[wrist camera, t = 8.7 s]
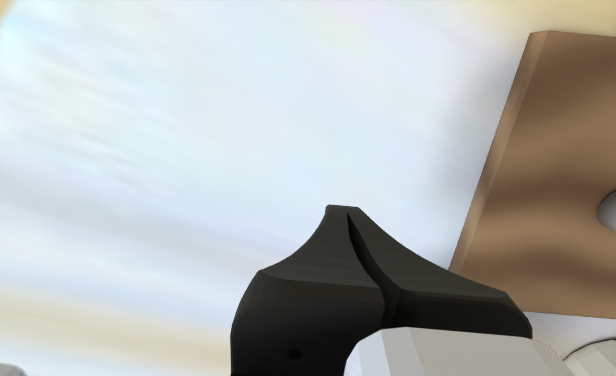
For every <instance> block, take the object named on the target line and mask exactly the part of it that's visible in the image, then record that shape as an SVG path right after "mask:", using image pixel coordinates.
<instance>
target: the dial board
mask: <svg viewBox="0 0 616 376" xmlns="http://www.w3.org/2000/svg"><path fill="white" fill-rule="evenodd" d="M615 191H616V37H609V36H599V35H589V34H578V33H568V32H558V31H542V32H536V33H530V35H529V38H528V41H527V44H526V47H525V50H524V52H523V55H522V58H521V61H520V64H519V67H518V70H517V73H516V76H515V79H514V81H513V84H512V87H511V90H510V93H509V96H508V99H507V102H506V105H505V108H504V110H503V113H502V116H501V119H500V122H499V125H498V128H497V131H496V134H495V136H494V139H493V142H492V145H491V148H490V151H489V154H488V157H487V160H486V163H485V165H484V168H483V171H482V174H481V177H480V180H479V183H478V186H477V189H476V192H475V194H474V197H473V200H472V203H471V206H470V209H469V212H468V215H467V218H466V221H465V223H464V226H463V229H462V232H461V235H460V238H459V241H458V244H457V247H456V249H455V252H454V255H453V258H452V261H451V264H450V267H449V270H448V271H450V272H452V273H455V274H457V275H460V276H462V277H464V278H467V279H469V280H472V281H475V282H478V283H481V284H484V285H487V286H489V287H492V288H495V289H498V290H501V291H504V292H506V293H507V294H508V295H509V297H510V298H511V299H512V300H513V301H514V303H515V304H516V305H517V306H518V307H519V309H520V310H521V311H527V312H538V313H550V314H561V315H573V316H584V317H595V318H607V319H616V232H615V231H613V230H611V229H609V228H607V227H606V226H604V225H602V224H601V223H600V222H599V221H598V219H597V210H598V207H599V205H600V204H601V203H602V201H603V200H604V199H605V198H606V197H607V196H609V195H610V194H612V193H613V192H615Z"/></svg>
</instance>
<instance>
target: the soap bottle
mask: <svg viewBox="0 0 616 376" xmlns="http://www.w3.org/2000/svg"><path fill="white" fill-rule="evenodd" d="M563 362H564V363H565V364H566V365H567V367H568V368H569V369H570V370H571V371H572V373H573V374H574V375H575V376H616V340H608V341H604V342H600V343H595V344H591V345H588V346H586V347H584V348H582V349H580V350H578V351H576V352H574V353H572V354H571V355H570V356H569V357H568V358H566V359H565V360H564V361H563Z"/></svg>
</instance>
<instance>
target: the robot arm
mask: <svg viewBox="0 0 616 376" xmlns="http://www.w3.org/2000/svg"><path fill="white" fill-rule="evenodd" d="M532 339H533V338H532V327H531V324H530V322H529V320H528V318H527V317H526V316H525V315H524V313H523V312H522V311H521V310H520V309H519V307H518V306H517V305H516V304H515V303H514V301H513V300H512V299H511V298H510V297H509V295H508V294H507V293H506V292H504V291H501V290H498V289H495V288H492V287H489V286H487V285H484V284H481V283H478V282H475V281H472V280H469V279H467V278H464V277H462V276H460V275H457V274H455V273H452V272H450V271H448V270H446V269H444V268H441V267H439V266H437V265H436V264H434V263H432V262H430V261H428V260H426V259H424V258H422V257H421V256H419V255H417V254H415V253H414V252H412V251H411V250H409V249H408V248H406V247H405V246H403V245H402V244H400V243H399V242H397V241H396V240H395V239H394V238H392V237H391V236H390V235H388V234H387V233H386V232H385V231H384V230H383V229H381V228H380V227H379V226H378V225H377V224H376V223H375V222H374V221H373V220H371V219H370V218H369V217H368V216H367V215H366V214H365V213H364V212H363V211H362V210H361V209H360V208H358V207H351V206H340V205H328V206H326V210H325V215H324V217H323V219H322V221H321V223H320V225H319V226H318V228H317V229H316V231H315V232H314V233H313V235H312V236H311V237H310V238H309V239H308V241H307V242H306V243H305V244H304V245H303V246H301V247H300V248H299V249H298V250H297V251H296V252H294V253H293V254H292V255H290V256H289V257H287V258H286V259H284V260H282V261H280V262H278V263H276V264H274V265H272V266H269V267H267V268H265V269H262V270H259V271H258V272H257V273H256V275H255V276H254V278H253V279H252V281H251V283H250V284H249V286H248V288H247V289H246V291H245V293H244V295H243V297H242V299H241V301H240V303H239V306H238V308H237V311H236V314H235V317H234V320H233V323H232V328H231V334H230V344H231V376H575V375H574V374H573V373H572V371H571V370H570V369H569V368H568V367H567V365H566V364H565V363H564V362H563V361H562V359H561V358H560V357H559V356H558V355H557V353H556V352H555V351H554V350H553V349H552V347H551V346H550V345H547V344H544V343H541V342H538V341H535V340H532ZM0 376H27V374H26V373H25V372H24V370H23V369H21V368H19V367H18V366H16V365H12V364H8V363H0Z"/></svg>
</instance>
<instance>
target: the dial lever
mask: <svg viewBox="0 0 616 376" xmlns="http://www.w3.org/2000/svg"><path fill="white" fill-rule="evenodd" d="M597 219H598V221H599V222H600V223H601V224H602V225H604V226H606V227H607V228H609V229H611V230H613V231H615V232H616V191H615V192H613V193H612V194H610V195H609V196H607V197H606V198H605V199H604V200H603V201H602V203H601V204H600V205H599V207H598V210H597Z"/></svg>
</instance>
